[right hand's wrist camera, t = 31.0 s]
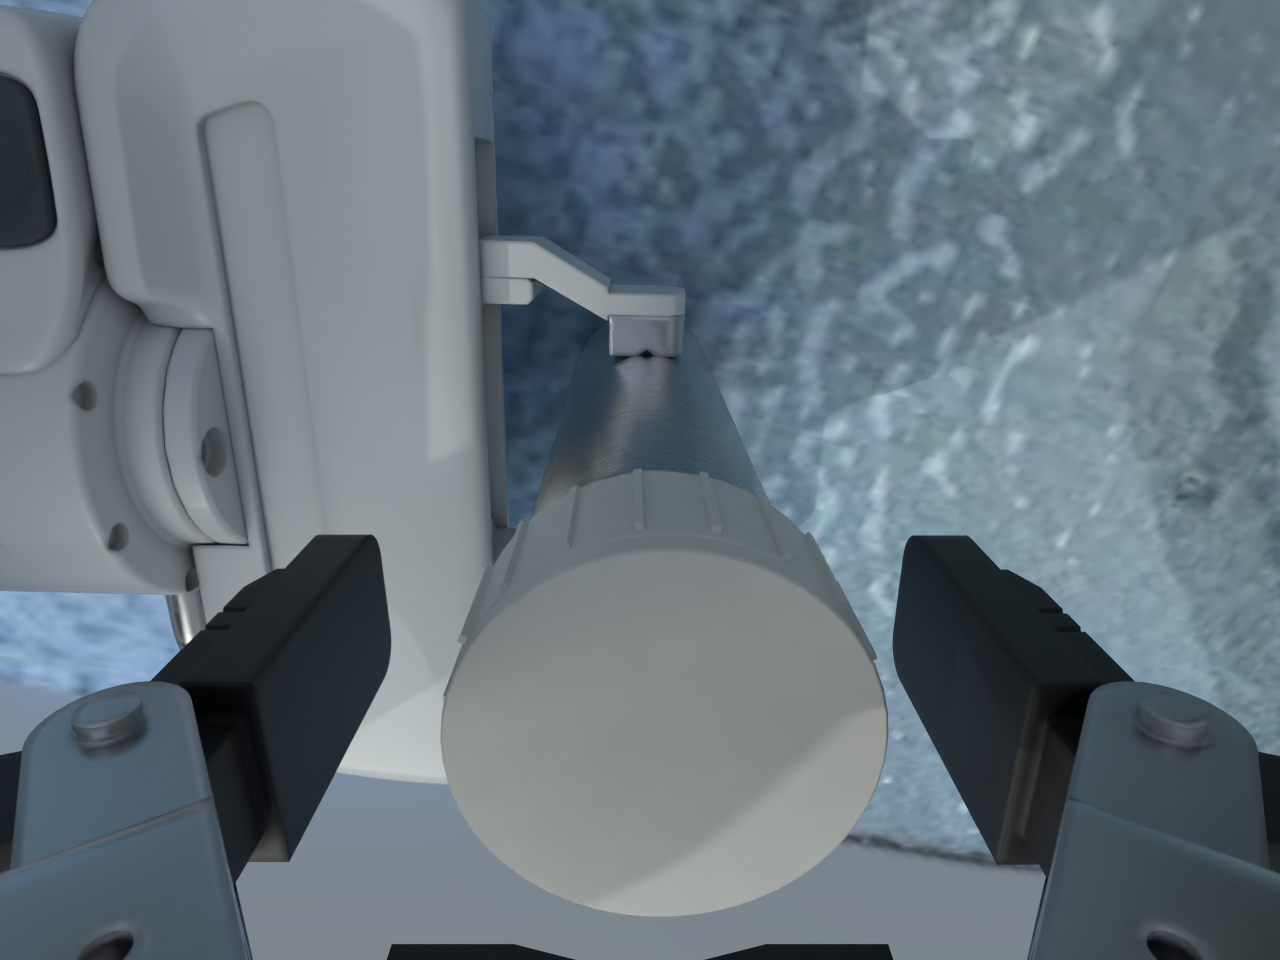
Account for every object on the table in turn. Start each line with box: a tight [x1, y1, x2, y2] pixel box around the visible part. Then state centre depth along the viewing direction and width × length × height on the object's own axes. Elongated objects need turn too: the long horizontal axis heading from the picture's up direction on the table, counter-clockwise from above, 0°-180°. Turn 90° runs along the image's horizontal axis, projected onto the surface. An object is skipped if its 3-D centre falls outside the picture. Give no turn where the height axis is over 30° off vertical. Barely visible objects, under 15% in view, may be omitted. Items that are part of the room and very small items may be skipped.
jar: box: [531, 321, 766, 518], centre depth 18 cm, size 4×4×17 cm
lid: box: [440, 469, 888, 916], centre depth 10 cm, size 5×5×2 cm
